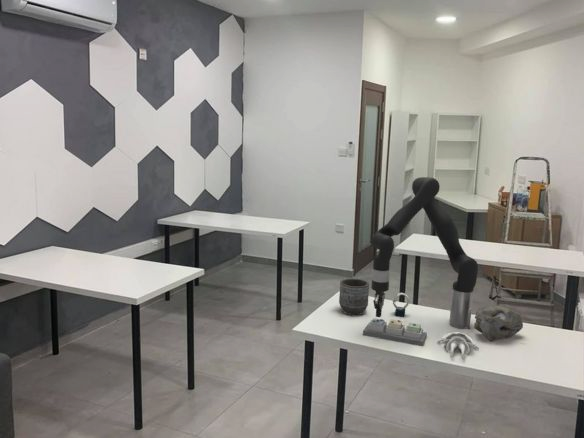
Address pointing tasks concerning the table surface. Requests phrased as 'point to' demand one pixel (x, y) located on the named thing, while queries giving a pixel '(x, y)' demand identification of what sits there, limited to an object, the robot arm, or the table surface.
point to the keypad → (395, 334)
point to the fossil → (497, 322)
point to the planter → (353, 295)
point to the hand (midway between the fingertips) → (378, 316)
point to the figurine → (458, 343)
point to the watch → (400, 310)
